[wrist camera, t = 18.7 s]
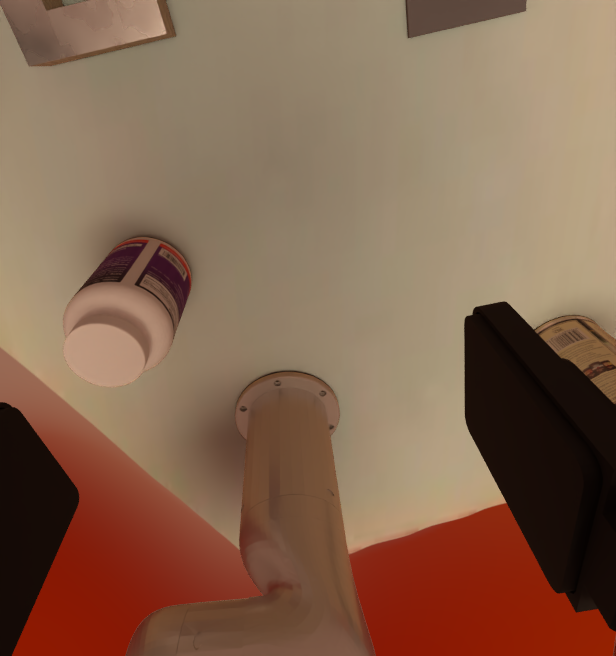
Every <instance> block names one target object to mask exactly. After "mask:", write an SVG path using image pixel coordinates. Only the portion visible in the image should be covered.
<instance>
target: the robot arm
mask: <svg viewBox="0 0 616 656" xmlns="http://www.w3.org/2000/svg"><path fill="white" fill-rule="evenodd" d="M464 339H465V419H466V424H467V427H468V430H469V432H470V434H471V436H472V438H473V440H474V442H475V444H476V445H477V447H478V449H479V451H480V453H481V455H482V457H483V459H484V461H485V463H486V464H487V466H488V468H489V470H490V472H491V474H492V476H493V478H494V480H495V482H496V483H497V485H498V487H499V489H500V491H501V493H502V495H503V497H504V499H505V501H506V502H507V504H508V506H509V508H510V510H511V512H512V514H513V516H514V518H515V520H516V521H517V523H518V525H519V527H520V529H521V531H522V533H523V535H524V537H525V539H526V540H527V542H528V544H529V546H530V548H531V550H532V552H533V554H534V556H535V558H536V559H537V561H538V563H539V565H540V567H541V569H542V571H543V573H544V575H545V577H546V578H547V580H548V582H549V584H550V586H551V587H552V588H553V590H554V591H555V592H556V593H566V595H567V597H568V599H569V601H570V602H571V604H572V606H573V607H574V610H575V611H576V612H582V611H587V610H593V609H599V611H600V613H601V614H602V616H603V618H604V619H605V621H606V623H607V624H608V626H609V628H610V629H612V630H614V631H616V405H615V404H614V403H613V402H612V401H611V400H610V399H609V398H608V397H607V396H606V395H605V394H604V393H603V392H602V391H601V390H600V389H599V388H598V387H597V386H596V385H595V384H594V383H593V382H592V381H591V380H590V379H589V378H588V377H587V376H586V375H585V374H584V373H583V372H582V371H581V370H580V369H579V368H578V367H577V366H576V365H575V364H574V363H573V362H571V361H570V360H568V359H565V358H561V357H560V356H559V355H558V354H557V353H556V352H555V351H554V350H553V349H552V348H551V347H550V346H549V345H548V344H547V343H546V342H545V341H544V340H543V339H542V338H541V337H540V336H539V335H538V334H537V333H536V332H535V331H534V329H533V328H532V327H531V326H530V325H529V324H528V323H527V322H526V321H525V320H524V319H523V318H522V317H521V316H520V315H519V314H518V313H517V312H516V311H515V310H514V309H513V308H512V307H511V306H510V305H509V304H508V303H507V302H498V303H493V304H488V305H483V306H478V307H475V308H474V310H473V315H470V316H467V317H466V318H465V323H464ZM339 417H340V412H339V405H338V400H337V398H336V396H335V394H334V392H333V391H332V390H331V389H330V387H329V386H328V385H326V384H325V383H324V382H323V381H321V380H319V379H317V378H315V377H313V376H310V375H307V374H304V373H297V372H281V373H274V374H271V375H268V376H265V377H262V378H260V379H258V380H256V381H255V382H253V383H252V384H251V385H249V386H248V387H247V388H246V389H245V390H244V392H243V393H242V394H241V396H240V398H239V399H238V402H237V406H236V412H235V420H236V425H237V428H238V430H239V432H240V434H241V435H242V436H243V438H244V439H245V440H246V441H247V442H246V455H245V469H244V482H243V496H242V509H241V524H240V537H239V546H240V553H241V557H242V561H243V564H244V566H245V568H246V570H247V572H248V574H249V576H250V578H251V579H252V581H253V582H254V584H255V585H256V586H257V588H258V589H259V590H260V592H261V593H262V594H263V596H258V597H250V598H248V599H236V600H224V601H212V602H200V603H192V604H181V605H175V606H169V607H165V608H162V609H159V610H157V611H155V612H153V613H151V614H150V615H149V616H148V617H146V618H145V619H144V620H143V621H142V622H141V624H140V625H139V626H138V628H137V629H136V631H135V633H134V635H133V637H132V639H131V641H130V644H129V646H128V650H127V653H126V656H376V655H375V651H374V647H373V644H372V641H371V638H370V634H369V631H368V628H367V625H366V622H365V618H364V615H363V612H362V608H361V605H360V602H359V598H358V595H357V591H356V587H355V583H354V579H353V575H352V570H351V565H350V560H349V554H348V549H347V543H346V536H345V530H344V523H343V517H342V510H341V504H340V497H339V490H338V484H337V477H336V470H335V464H334V457H333V450H332V444H331V437H330V436H331V435H332V434H333V432H334V431H335V429H336V427H337V425H338V423H339ZM78 503H79V493H78V490H77V488H76V487H75V485H74V484H73V482H72V481H71V480H70V478H69V477H68V476H67V474H66V473H65V471H64V470H63V469H62V467H61V466H60V465H59V463H58V462H57V460H56V459H55V458H54V456H53V455H52V454H51V452H50V451H49V450H48V448H47V447H46V446H45V444H44V443H43V442H42V440H41V439H40V437H39V436H38V435H37V433H36V432H35V431H34V429H33V428H32V427H31V425H30V424H29V422H28V421H27V420H26V418H25V417H24V416H23V414H22V413H21V412H20V411H19V410H18V409H17V408H15V407H11V405H9V404H7V403H3V402H0V656H12V654H13V651H14V649H15V647H16V645H17V642H18V640H19V638H20V635H21V633H22V631H23V628H24V626H25V624H26V622H27V620H28V617H29V615H30V613H31V610H32V608H33V606H34V604H35V601H36V599H37V597H38V595H39V592H40V590H41V588H42V586H43V583H44V581H45V579H46V577H47V574H48V572H49V570H50V568H51V565H52V563H53V561H54V559H55V556H56V554H57V552H58V549H59V547H60V545H61V543H62V540H63V538H64V536H65V533H66V531H67V529H68V527H69V524H70V522H71V520H72V518H73V515H74V513H75V511H76V509H77V506H78ZM613 656H616V639H615V646H614V653H613Z"/></svg>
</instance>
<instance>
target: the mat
mask: <svg viewBox="0 0 616 656" xmlns="http://www.w3.org/2000/svg"><path fill="white" fill-rule="evenodd" d="M524 11H526V0H406V12H407V29H408V38H411V37H415V36H420V35H424V34H428V33H433V32H437V31H441V30H446V29H450V28H454V27H459V26H463V25H467V24H472V23H476V22H480V21H485V20H489V19H493V18H498V17H502V16H506V15H511V14H515V13H519V12H524Z"/></svg>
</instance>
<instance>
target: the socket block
mask: <svg viewBox="0 0 616 656" xmlns="http://www.w3.org/2000/svg"><path fill="white" fill-rule="evenodd" d="M0 4H1V7H2V9H3V11H4V13H5V15H6V17H7V20H8V22H9V24H10V26H11V28H12V30H13V33H14V35H15V37H16V39H17V41H18V43H19V46H20V48H21V50H22V52H23V54H24V56H25V59H26V61H27V63H28V65H29V66H52V65H57V64H61V63H65V62H69V61H74V60H78V59H82V58H86V57H91V56H95V55H99V54H103V53H108V52H112V51H116V50H120V49H124V48H129V47H133V46H137V45H141V44H146V43H150V42H154V41H158V40H163V39H167V38H171V37H175V36H176V33H175V30H174V26H173V23H172V20H171V16H170V13H169V9H168V6H167V3H166V0H89V1H85V2H80V3H76V4H72V5H68V6H63V3H62V0H0Z"/></svg>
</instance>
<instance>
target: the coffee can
mask: <svg viewBox="0 0 616 656" xmlns="http://www.w3.org/2000/svg"><path fill="white" fill-rule="evenodd" d="M535 332H536V333H537V334H538V335H539V336H540V337H541V338H542V339H543V340H544V341H545V342H546V343H547V344H548V345H549V346H550V347H551V348H552V349H553V350H554V351H555V352H556V353H557V354H558V355H559V356H560V357H561V358H565V359H568V360H570V361H571V362H573V363H574V364H575V365H576V366H577V367H578V368H579V369H580V370H581V371H582V372H583V373H584V374H585V375H586V376H587V377H588V378H589V379H590V380H591V381H592V382H593V383H594V384H595V385H596V386H597V387H598V388H599V389H600V390H601V391H602V392H603V393H604V394H605V395H606V396H607V397H608V398H609V399H610V400H611V401H612V402H613V403H614V404H615V405H616V340H615V339H614V338H613V337H611V336H610V335H609V334H607V333H606V332H605V331H604V330H603V329H601V328H600V327H599V326H598V325H597V324H596V323H595V322H594V321H593V320H591V319H589V318H586V317H583V316H564V317H560V318H557V319H554V320H551V321H549V322H547V323H545V324H543V325H541V326H540V327H539V328H537V329H536V330H535Z"/></svg>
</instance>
